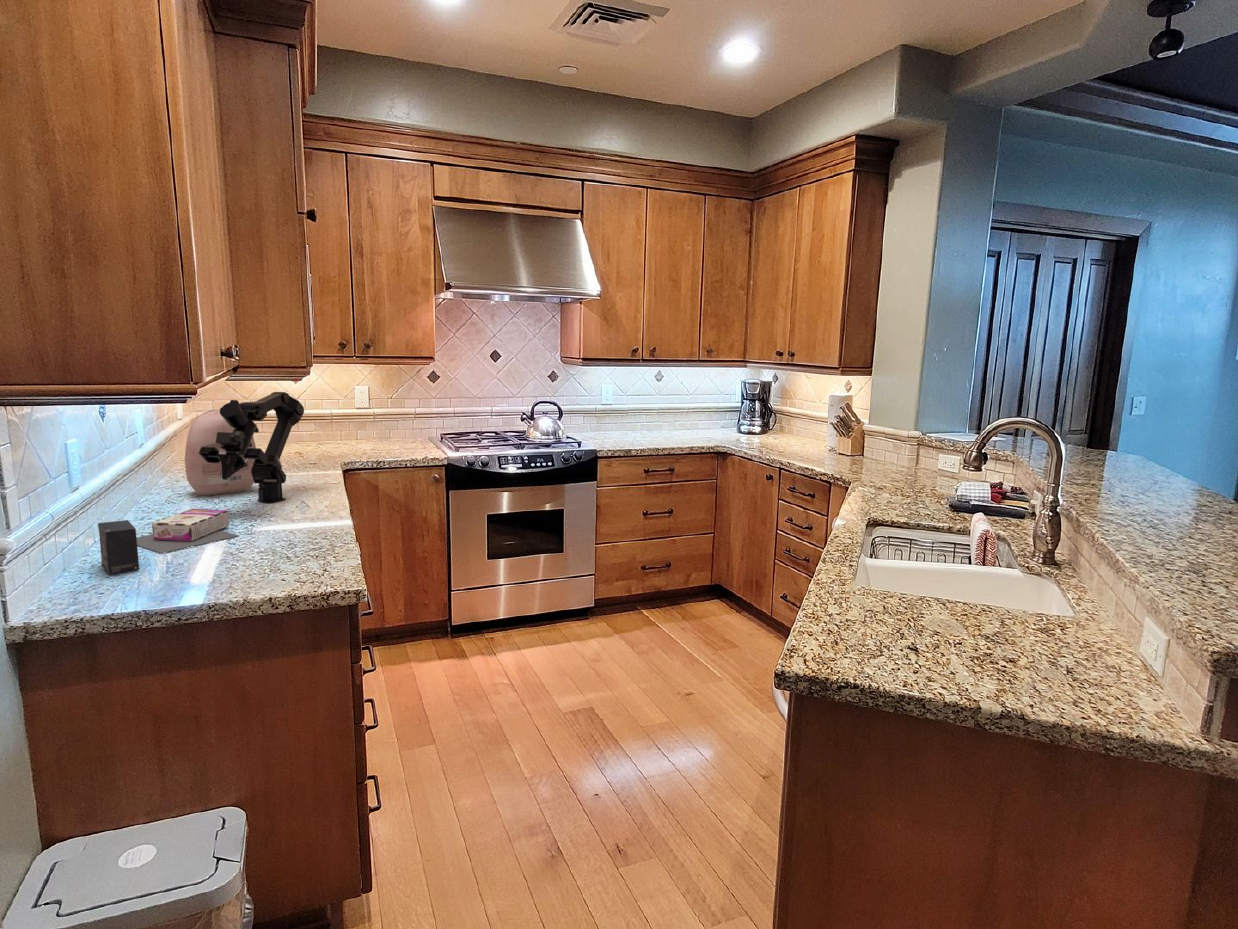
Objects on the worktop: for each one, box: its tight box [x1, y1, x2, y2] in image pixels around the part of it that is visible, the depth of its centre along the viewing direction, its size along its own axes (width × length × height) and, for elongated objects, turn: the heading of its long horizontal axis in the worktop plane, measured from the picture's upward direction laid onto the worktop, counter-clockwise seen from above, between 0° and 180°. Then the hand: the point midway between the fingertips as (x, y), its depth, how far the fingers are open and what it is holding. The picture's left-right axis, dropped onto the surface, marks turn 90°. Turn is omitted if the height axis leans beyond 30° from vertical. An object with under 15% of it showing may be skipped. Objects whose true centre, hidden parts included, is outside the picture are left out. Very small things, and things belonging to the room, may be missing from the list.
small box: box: [97, 519, 140, 576], centre depth 166 cm, size 11×6×10 cm, turn 43°
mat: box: [136, 529, 240, 554], centre depth 191 cm, size 20×20×1 cm
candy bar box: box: [151, 508, 230, 541], centre depth 195 cm, size 11×5×16 cm
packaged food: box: [184, 408, 257, 496], centre depth 243 cm, size 22×20×30 cm
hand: (224, 479), depth 209 cm, fingers closed
